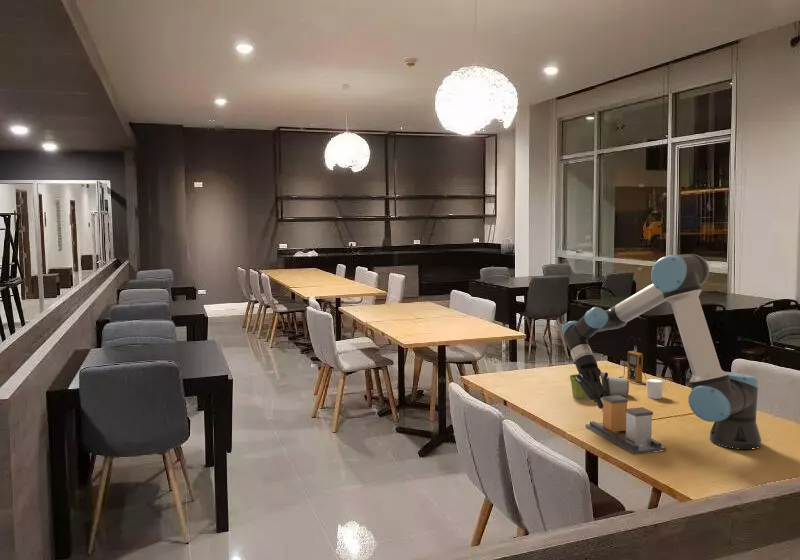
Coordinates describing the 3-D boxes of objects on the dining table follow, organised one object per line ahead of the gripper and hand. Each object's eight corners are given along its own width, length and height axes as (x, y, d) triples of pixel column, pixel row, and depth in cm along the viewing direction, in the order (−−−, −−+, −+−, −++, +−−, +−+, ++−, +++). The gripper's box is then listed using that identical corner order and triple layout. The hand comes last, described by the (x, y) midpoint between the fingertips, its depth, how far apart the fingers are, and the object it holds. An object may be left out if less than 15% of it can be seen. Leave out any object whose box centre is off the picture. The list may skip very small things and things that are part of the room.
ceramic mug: (629, 397, 271) (629, 379, 270) (608, 397, 272) (609, 378, 272) (625, 391, 282) (625, 373, 281) (605, 390, 283) (605, 373, 282)
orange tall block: (601, 427, 229) (602, 396, 228) (617, 425, 231) (618, 395, 230) (610, 432, 224) (611, 400, 223) (627, 430, 226) (628, 399, 225)
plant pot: (564, 397, 273) (564, 376, 272) (577, 392, 279) (577, 372, 279) (583, 401, 266) (584, 380, 265) (596, 397, 272) (597, 376, 272)
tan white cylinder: (667, 398, 270) (667, 381, 270) (653, 400, 268) (654, 383, 267) (654, 394, 277) (655, 377, 276) (641, 395, 274) (642, 379, 273)
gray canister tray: (585, 427, 234) (586, 394, 233) (615, 424, 238) (615, 391, 236) (633, 454, 207) (634, 417, 206) (665, 450, 211) (667, 414, 209)
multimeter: (608, 378, 303) (609, 335, 301) (627, 376, 306) (628, 334, 304) (628, 386, 289) (630, 341, 287) (647, 384, 292) (649, 340, 290)
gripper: (595, 363, 250) (620, 419, 235) (564, 365, 246) (587, 422, 232) (603, 352, 244) (629, 409, 230) (572, 354, 241) (596, 412, 226)
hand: (608, 415), depth 231 cm, fingers closed
